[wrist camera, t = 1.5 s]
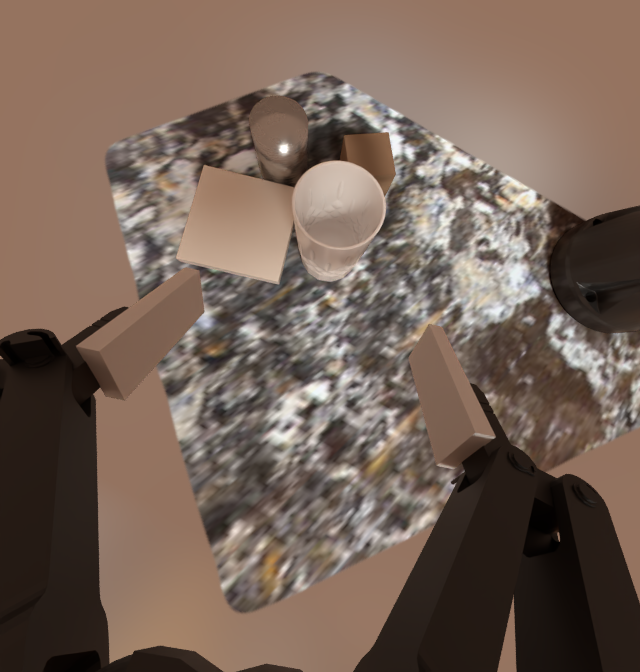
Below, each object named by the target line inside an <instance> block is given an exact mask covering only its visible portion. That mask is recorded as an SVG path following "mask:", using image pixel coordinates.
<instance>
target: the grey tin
mask: <svg viewBox="0 0 640 672" xmlns="http://www.w3.org/2000/svg"><path fill="white" fill-rule="evenodd" d="M249 125H250V129H251V134H252V138H253V142H254V146H255V151H256V155H257V159H258V163H259V168H260V172H261V175H262V177H263V179H264V180H267V181H271V182H275V183H279V184H283V185H287V186H291V187H295V186H296V184H297V182H298V180H299V179H300V178H301V176H302V175H303V174H304V173H305V172H306V171H307V153H308V119H307V115H306V113H305V111H304V109H303V108H302V107H301V106H300V105H299V104H298V103H297V102H296V101H294V100H292V99H290V98H288V97H284V96H270V97H266V98H264V99H262V100H260V101H259V102H258V103H257V104H256V105H255V106H254V107H253V109H252V110H251V113H250V117H249Z"/></svg>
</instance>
